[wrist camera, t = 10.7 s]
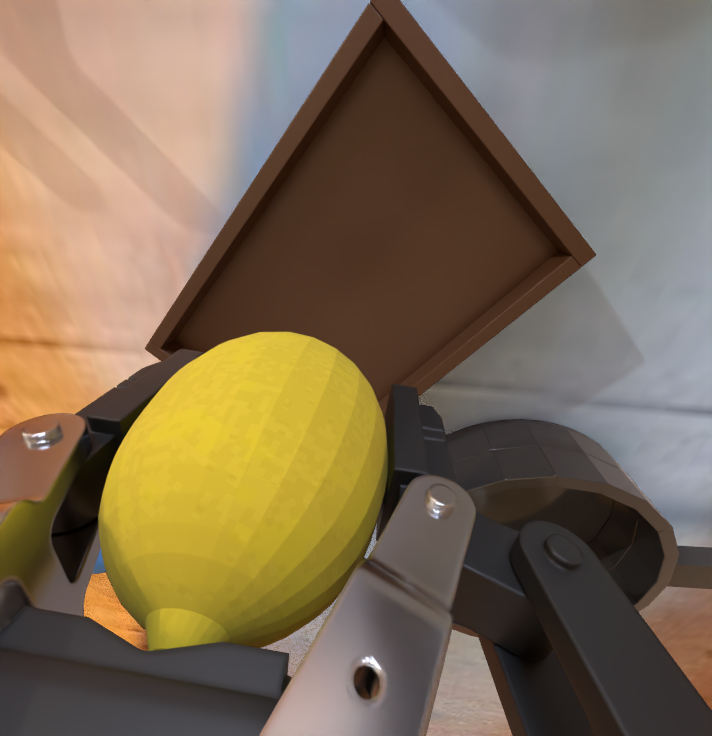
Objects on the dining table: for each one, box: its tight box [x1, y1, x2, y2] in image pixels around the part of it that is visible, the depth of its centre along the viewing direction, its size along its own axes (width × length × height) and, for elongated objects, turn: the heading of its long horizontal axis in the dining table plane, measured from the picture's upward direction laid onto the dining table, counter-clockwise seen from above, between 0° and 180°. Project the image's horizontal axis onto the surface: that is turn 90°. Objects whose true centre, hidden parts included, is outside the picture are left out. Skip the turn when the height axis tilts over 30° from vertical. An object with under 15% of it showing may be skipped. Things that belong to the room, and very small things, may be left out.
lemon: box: [98, 332, 388, 651], centre depth 8 cm, size 6×6×8 cm
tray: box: [145, 0, 596, 417], centre depth 20 cm, size 22×15×2 cm
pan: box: [446, 419, 679, 637], centre depth 25 cm, size 18×18×6 cm
